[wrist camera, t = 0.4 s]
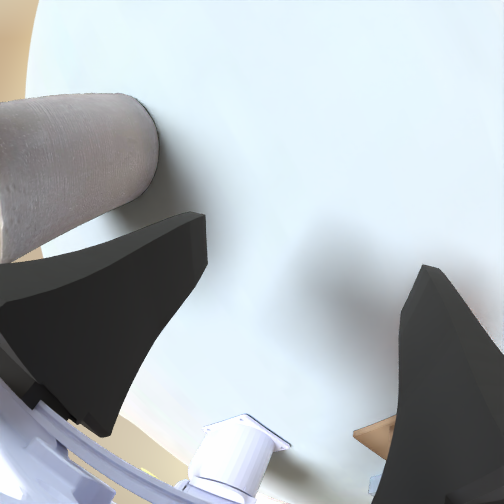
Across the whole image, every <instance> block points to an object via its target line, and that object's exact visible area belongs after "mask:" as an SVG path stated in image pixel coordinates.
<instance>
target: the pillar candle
mask: <svg viewBox="0 0 504 504" xmlns="http://www.w3.org/2000/svg"><path fill="white" fill-rule="evenodd" d="M158 157H159V140H158V134H157V129H156V126H155V124H154V122H153V120H152V118H151V117H150V116H149V114H148V113H147V111H146V110H145V108H144V107H143V106H142V105H141V104H140V103H139V102H138V101H137V100H136V99H135V98H133V97H131V96H128V95H125V94H122V93H115V94H113V93H85V94H61V95H50V96H43V97H37V98H28V99H21V100H14V101H8V102H0V264H4V263H11V262H13V261H15V260H16V259H18V258H20V257H22V256H24V255H25V254H27V253H29V252H31V251H32V250H34V249H36V248H38V247H40V246H41V245H43V244H45V243H47V242H49V241H51V240H52V239H54V238H56V237H58V236H60V235H62V234H64V233H66V232H68V231H70V230H72V229H74V228H76V227H77V226H79V225H81V224H84V223H86V222H88V221H90V220H92V219H94V218H96V217H98V216H100V215H102V214H104V213H106V212H109V211H111V210H113V209H115V208H117V207H119V206H122V205H124V204H126V203H128V202H131V201H133V200H135V199H136V198H138V197H139V196H140V195H142V193H143V192H144V191H145V190H146V189H147V188H148V186H149V185H150V183H151V181H152V179H153V177H154V174H155V171H156V168H157V164H158Z"/></svg>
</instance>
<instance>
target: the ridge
mask: <svg viewBox="0 0 504 504" xmlns="http://www.w3.org/2000/svg"><path fill="white" fill-rule="evenodd" d="M395 421H396V415H394V416H392V417H390V418H387V419H385V420H382V421H380V422H377V423H375V424H372V425H370V426H367V427H364V428H362V429H359V430H356V431H354V434H353V437H354V438H355V439H356V440H358V441H359V442H361V443H362V444H363V445H365V446H366V447H368V448H369V449H370V450H372V451H373V452H375V453H376V454H377V455H379V456H380V457H382V458H383V459H385V460H387V457H388V453H389V449H390V445H391V441H392V436H393V431H394V426H395Z"/></svg>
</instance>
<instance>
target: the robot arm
mask: <svg viewBox="0 0 504 504" xmlns="http://www.w3.org/2000/svg"><path fill="white" fill-rule="evenodd" d="M207 264H208V261H207V242H206V219H205V215H204V214H199V213H194V212H187V213H183V214H179V215H176V216H173V217H171V218H168V219H165V220H163V221H160V222H157V223H155V224H152V225H150V226H147V227H145V228H142V229H140V230H137V231H135V232H132V233H129V234H126V235H124V236H121V237H118V238H116V239H113V240H110V241H108V242H105V243H102V244H99V245H96V246H92V247H89V248H85V249H82V250H79V251H75V252H71V253H66V254H62V255H58V256H53V257H49V258H44V259H38V260H32V261H25V262H18V263H4V264H0V504H117V503H114V502H113V501H112V499H113V498H114V496H115V494H116V491H115V490H114V489H113V488H111V487H110V486H108V485H107V484H106V483H104V482H103V481H101V480H100V479H98V478H97V477H95V476H94V475H93V474H91V473H90V472H88V471H87V470H85V469H84V468H82V467H81V466H79V465H78V464H76V463H75V462H73V461H72V460H70V459H69V457H68V450H67V448H68V449H69V450H70V451H71V452H73V453H74V454H75V455H77V456H78V457H79V458H81V459H82V460H83V461H85V462H86V463H87V464H89V465H90V466H92V467H93V468H95V469H96V470H97V471H99V472H100V473H102V474H103V475H105V476H106V477H108V478H109V479H111V480H113V481H114V482H116V483H117V484H119V485H121V486H122V487H124V488H126V489H127V490H129V491H131V492H132V493H134V494H136V495H138V496H140V497H141V498H143V499H145V500H147V501H149V502H151V503H153V504H255V503H256V501H257V499H256V498H255V497H256V494H257V492H258V489H259V487H260V484H261V482H262V479H263V477H264V474H265V471H266V469H267V466H268V463H269V461H270V458H271V455H272V452H277V451H282V450H286V449H289V448H290V445H289V444H288V443H286V442H285V441H283V440H282V439H280V438H279V437H277V436H276V435H274V434H273V433H271V432H270V431H269V430H267V429H266V428H264V427H263V426H262V425H260V424H259V423H257V422H256V421H255V420H253V419H252V418H251V417H249V416H248V415H246V414H243V415H240V416H237V417H234V418H231V419H228V420H225V421H222V422H218V423H215V424H212V425H209V426H205V427H203V428H202V431H203V432H205V433H206V436H205V438H204V439H203V441H202V443H201V445H200V447H199V448H198V450H197V452H196V454H195V456H194V457H193V459H192V461H191V463H190V465H189V469H188V475H189V479H190V481H189V480H187V479H184V480H182V481H179V482H177V484H176V485H175V486H174V487H173V486H171V485H169V484H167V483H164V482H162V481H161V480H159V479H157V478H155V477H153V476H151V475H149V474H147V473H145V472H143V471H142V470H140V469H138V468H136V467H134V466H133V465H131V464H129V463H127V462H126V461H124V460H122V459H121V458H119V457H117V456H116V455H114V454H113V453H111V452H109V451H108V450H106V449H104V448H103V447H102V446H100V445H99V444H97V443H96V442H94V441H93V440H91V439H90V438H89V437H87V436H85V435H84V434H83V433H82V432H80V431H79V430H77V429H76V428H75V427H73V426H72V425H71V424H70V423H68V422H67V420H68V419H70V420H72V421H73V422H74V423H76V424H77V425H78V424H82V425H83V426H84V427H86V428H87V429H89V430H90V431H92V432H93V433H95V434H96V435H97V436H99V437H108V436H110V435H111V433H112V430H113V427H114V424H115V422H116V419H117V416H118V414H119V411H120V409H121V406H122V404H123V402H124V399H125V397H126V395H127V393H128V391H129V388H130V386H131V384H132V382H133V380H134V378H135V376H136V374H137V372H138V370H139V368H140V367H141V365H142V363H143V361H144V359H145V357H146V356H147V354H148V352H149V350H150V349H151V347H152V345H153V343H154V342H155V340H156V339H157V337H158V336H159V334H160V333H161V331H162V330H163V329H164V327H165V326H166V325H167V323H168V322H169V321H170V319H171V318H172V317H173V316H174V314H175V313H176V312H177V310H178V309H179V308H180V306H181V305H182V304H183V302H184V301H185V300H186V298H187V297H188V296H189V294H190V293H191V292H192V290H193V289H194V288H195V286H196V284H197V283H198V281H199V279H200V278H201V276H202V274H203V272H204V270H205V268H206V266H207ZM371 504H504V355H503V354H502V352H501V351H500V350H499V349H498V347H497V346H496V345H495V343H494V342H493V341H492V340H491V338H490V337H489V335H488V334H487V333H486V331H485V330H484V328H483V327H482V326H481V324H480V323H479V322H478V320H477V319H476V317H475V316H474V315H473V313H472V312H471V310H470V309H469V307H468V306H467V305H466V303H465V302H464V300H463V299H462V297H461V296H460V295H459V293H458V292H457V290H456V289H455V288H454V286H453V285H452V284H451V282H450V281H449V280H448V278H447V277H446V276H445V275H444V273H443V272H442V271H441V270H440V269H439V268H435V267H431V266H427V265H423V264H422V267H421V269H420V272H419V274H418V276H417V279H416V281H415V283H414V285H413V288H412V290H411V292H410V294H409V296H408V299H407V301H406V303H405V305H404V307H403V309H402V311H401V318H400V329H399V394H398V408H397V415H396V421H395V426H394V431H393V436H392V441H391V445H390V449H389V453H388V457H387V460H386V464H385V467H384V470H383V473H382V476H381V479H380V482H379V485H378V488H377V491H376V493H375V496H374V498H373V501H372V503H371Z"/></svg>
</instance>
